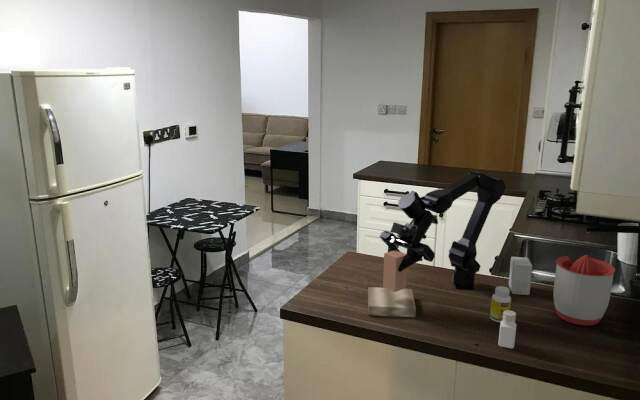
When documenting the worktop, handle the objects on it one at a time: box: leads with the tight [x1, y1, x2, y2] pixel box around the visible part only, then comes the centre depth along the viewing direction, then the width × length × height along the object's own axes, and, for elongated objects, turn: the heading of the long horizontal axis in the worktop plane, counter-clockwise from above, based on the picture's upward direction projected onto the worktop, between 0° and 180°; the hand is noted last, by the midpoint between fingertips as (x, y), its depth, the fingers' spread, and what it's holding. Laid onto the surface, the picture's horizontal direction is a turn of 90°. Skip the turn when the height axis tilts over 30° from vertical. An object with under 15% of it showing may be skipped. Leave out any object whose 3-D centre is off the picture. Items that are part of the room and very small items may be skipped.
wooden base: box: [367, 286, 417, 318], centre depth 162 cm, size 14×14×3 cm
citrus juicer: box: [552, 254, 616, 326], centre depth 154 cm, size 16×17×20 cm
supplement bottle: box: [489, 285, 512, 324], centre depth 153 cm, size 5×5×10 cm
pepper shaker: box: [497, 309, 517, 350], centre depth 139 cm, size 4×4×10 cm
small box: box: [508, 256, 533, 296], centre depth 174 cm, size 8×6×10 cm
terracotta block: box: [382, 250, 408, 292], centre depth 158 cm, size 5×5×11 cm
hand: (392, 268), depth 157 cm, fingers closed on terracotta block, 5 cm apart
